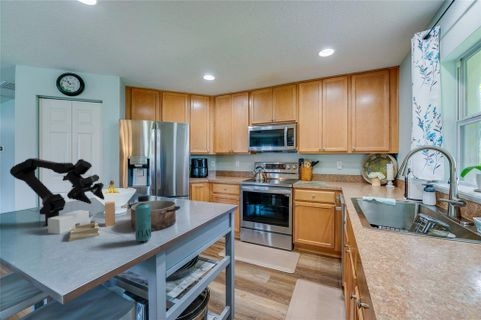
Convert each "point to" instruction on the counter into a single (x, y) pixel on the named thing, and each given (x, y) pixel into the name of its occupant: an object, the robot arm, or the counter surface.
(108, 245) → the counter surface
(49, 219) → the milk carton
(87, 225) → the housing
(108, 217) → the block
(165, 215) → the cooking pot
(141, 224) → the beverage bottle
